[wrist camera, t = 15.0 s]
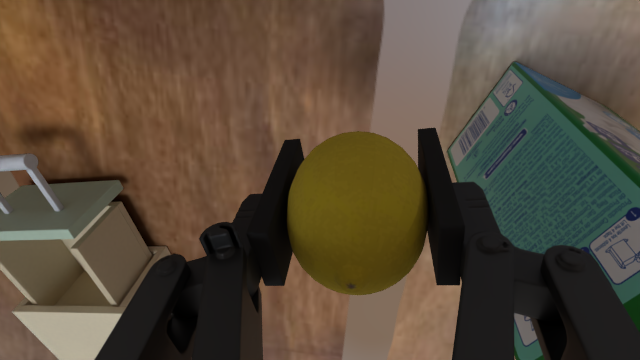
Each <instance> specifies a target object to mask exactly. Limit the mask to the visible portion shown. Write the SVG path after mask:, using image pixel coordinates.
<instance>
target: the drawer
mask: <svg viewBox="0 0 640 360" xmlns="http://www.w3.org/2000/svg"><path fill="white" fill-rule="evenodd" d="M37 165H38V159H37V157H36V156H35V155H34V154H30V153H29V154H16V155H3V156H0V171H13V170H26V171H27V172H28V174H29V175H30V176H31V178H32V179H33V181H34V182H35V183H36V185H25V186H21V187H19V188H18V189H17V190H15V191H14V192H13V193H11V194H10V195H8V196H7V197H6V198H4V197H3V196H2V194H1V193H0V270H1V271H2V272H3V273H4V274H5V275H6V276H7V277H8V278H9V279H10V280H11V281H12V283H13V284H14V285H15V286H16V287H17V288H18V289H19V290H20V291H21V292H22V293H23V295H24V296H25V297H26V298H27V299H28V300H29V301H30V302H31V303H32V304H33V305H45V306H109V307H119V306H120V304H121V303H122V302H123V300H124V299H125V297H126V296H127V294H128V293H129V291H130V290H131V288H132V287H133V285H134V284H135V283H136V281H137V280H138V278H139V277H140V275H141V274H142V272H143V271H144V269H145V268H146V266H147V265H148V264H149V262H150V261H151V259H152V258H153V256H152V254H151V253H150V251H149V249H148V247H147V246H146V244H145V242H144V240H143V239H142V237H141V235H140V233H139V232H138V230H137V228H136V226H135V224H134V223H133V221H132V219H131V217H130V216H129V214H128V212H127V210H126V209H125V207H124V205H123V203H122V202H121V201H120V202H111V201H112V200H113V199H114V198H115V197H116V196H117V195H118V194H119V193H120V192H121V191H122V190H123V187H122V185H121V183H120V181H119V180H110V181H93V182H76V183H59V184H48V183H47V182H46V180H45V179H44V177H43V176H42V174H41V173H40V172H39V170H38V169H37Z"/></svg>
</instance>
